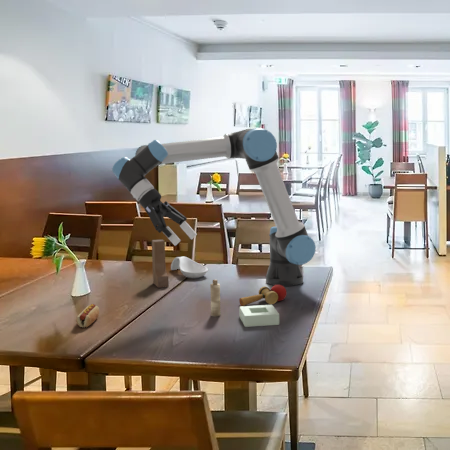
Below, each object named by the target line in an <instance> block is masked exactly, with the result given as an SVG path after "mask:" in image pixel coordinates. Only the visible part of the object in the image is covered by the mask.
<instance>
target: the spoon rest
mask: <svg viewBox="0 0 450 450" xmlns="http://www.w3.org/2000/svg"><path fill="white" fill-rule="evenodd" d="M177 269H178V270H180V272H181V274H182V275H183V276H184V277H186V278H187V279H199V278H202V277H204V276H205V275H206V274H207V273H208V271H209V270H208V267H207V266H205V265H202V264H201V263H198V262H196V261H194V260H192V259H191V258H189V257H187V256H176V257H174V259H173V260H172V262H171V264H170V270H171V271H176V270H177Z"/></svg>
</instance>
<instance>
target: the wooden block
mask: <svg viewBox="0 0 450 450" xmlns="http://www.w3.org/2000/svg"><path fill="white" fill-rule="evenodd" d="M165 242H166V241H165V240H164V239H152V240H151V257H152V259H151V260H152V261H151V262H152V283H153V284H154V285H155V287H156V288H158V289H160V288H168V287H169V284H170V283H169V282H170V281H169V275H168V274H167V270H166V269H167V268H166V243H165Z"/></svg>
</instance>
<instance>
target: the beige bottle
mask: <svg viewBox="0 0 450 450" xmlns="http://www.w3.org/2000/svg"><path fill="white" fill-rule="evenodd" d="M209 286H210V316H211V317H220V316H221V284H220V283H218V279H212V283H210V285H209Z"/></svg>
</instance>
